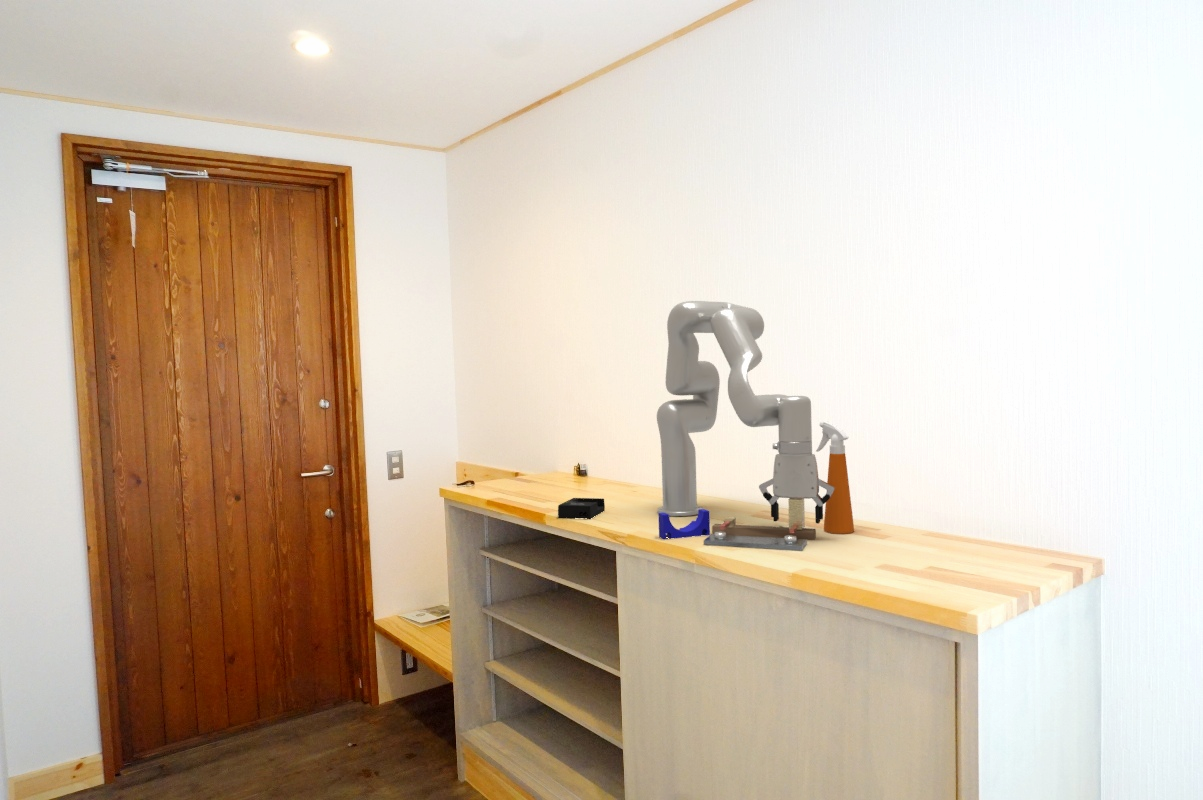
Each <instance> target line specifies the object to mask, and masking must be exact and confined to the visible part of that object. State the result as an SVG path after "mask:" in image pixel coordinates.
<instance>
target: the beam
mask: <svg viewBox="0 0 1203 800" xmlns="http://www.w3.org/2000/svg"><path fill="white" fill-rule="evenodd" d="M736 519H737V517H729V516H727V517H726V518H724V519H723V523H714V524H713V525H712V526H711V529H712V534H714V533H715V532H726V535H735V536H753V537H771V538H784V536H788V535H792V536H796V539H807V540H811V541H812V540H813V541H815V538H816V536H817V535H816V533H817V532H816V528H809V527H808V528H806V527H804V528H803V530H796V531H795V533H790V532H789V526H788V527H787V526H769V525H749V524H737V521H736Z"/></svg>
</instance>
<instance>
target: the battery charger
mask: <svg viewBox="0 0 1203 800" xmlns="http://www.w3.org/2000/svg"><path fill="white" fill-rule="evenodd" d="M605 509H606V505H605V498H597V497H596V498H595V497H593V498H592V497H589V498H588V497H573V498H570V499H569V500H566V501H564V502H563V503H560V504H558V505H557V517H558V519H565V520H570V519H571V520H576V519H575V518H587V519H586V520H592V519H594V518H595V517H597V516H599V515H600V514H602V513H603V511H604V512H605ZM601 512H602V513H601ZM598 514H599V515H598ZM596 515H597V516H596ZM594 516H595V517H594ZM593 517H594V518H593ZM591 518H592V519H591Z"/></svg>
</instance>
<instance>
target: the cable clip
mask: <svg viewBox="0 0 1203 800" xmlns="http://www.w3.org/2000/svg"><path fill="white" fill-rule="evenodd" d="M657 514H658V536H659V537H658V538H660V537H661V538H660V539H661V540H672V539H671V538H674V539H683V538H682V537H684V538H693V537H692V536H695V537H702V536H701V535H705V536H710V535H711V529H710V527H711V525H710V520H711V519H710V510H709V509H705V508H703V509H699V510H698V514H697V517H696V518H695V520H692V521H690V523H689V524H687V525H686V526H683V527H679V528H676V527H675V526H673V524H672V522H671V518H670V516H669V514H666V513H658V512H657ZM666 537H668V538H669V539H668V538H666Z"/></svg>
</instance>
